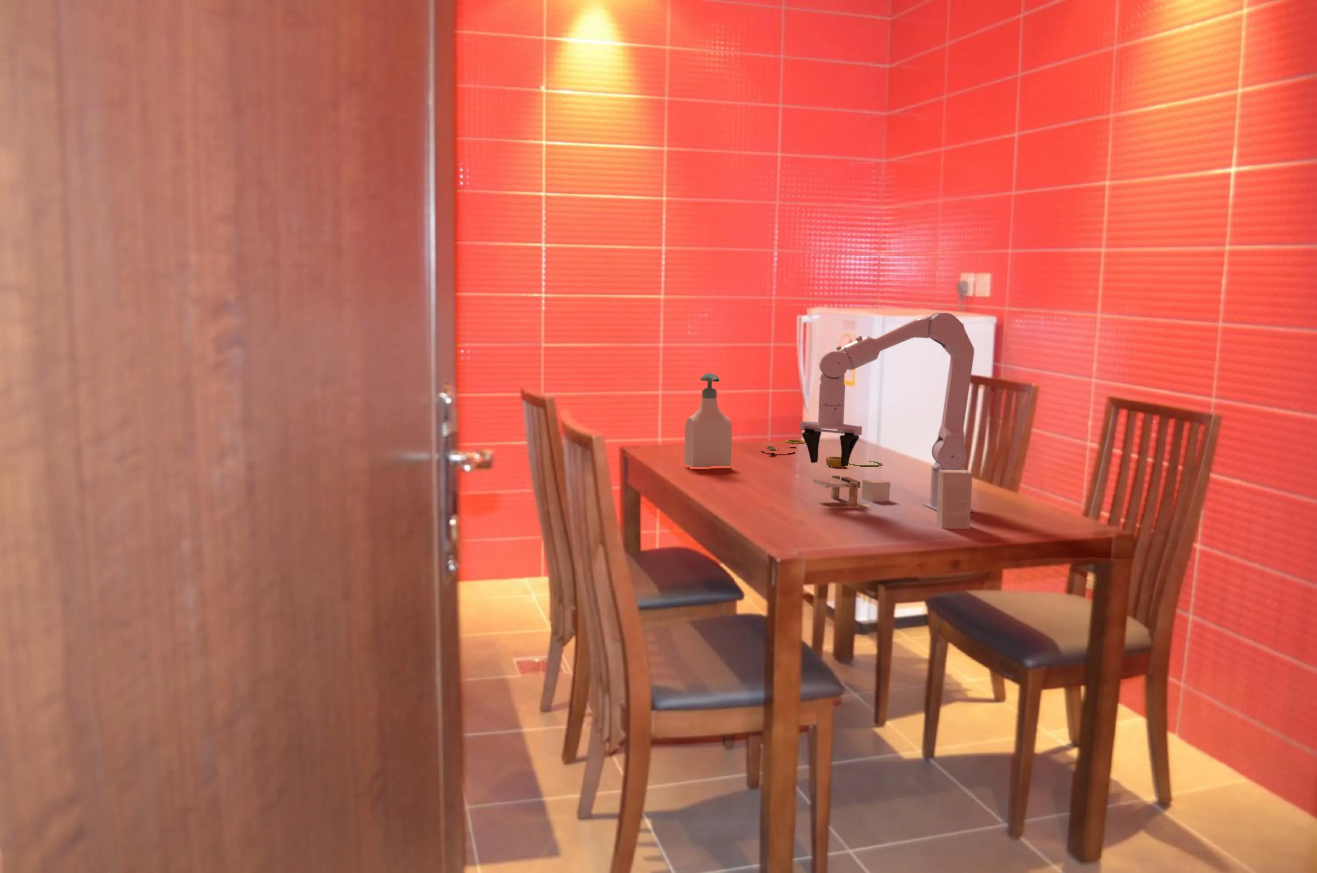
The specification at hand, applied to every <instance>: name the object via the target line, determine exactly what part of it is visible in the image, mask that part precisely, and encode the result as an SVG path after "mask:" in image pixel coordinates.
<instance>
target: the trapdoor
mask: <svg viewBox="0 0 1317 873" xmlns="http://www.w3.org/2000/svg"><path fill="white" fill-rule="evenodd" d="M841 480H842V481H841ZM844 481H845V482H844ZM846 482H847V483H846ZM850 482H857V483H858V489H860V488H861V481H860V480H857V479H854V478H852V477H849V476H840V480H839V479H836V478H832V477H830V478H829V477H827V478H826V477H825V478H824V477H823V478H812V483H813V484H816V485H820V486H822V487H824V488H827V489H828V488H830V489H832V488H836V487H840V488H849V483H850Z"/></svg>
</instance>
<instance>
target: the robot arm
mask: <svg viewBox="0 0 1317 873" xmlns="http://www.w3.org/2000/svg"><path fill="white" fill-rule="evenodd" d="M914 338H915V339H916V338H921V339H922V338H923V339H931V340H932V341H934V342H936V344H937V343H938V344H939V345H940V346H941V347H942V348H943V350H945V352H947V354H948V355H949V356H950V361H949V366H948V368H949V369H948V374H947V375H948V376H947V382H946V389H945V396H944V404H943V411H942V417H941V418H942V420H941V424H940V427H939V430H938V434H937V438H936V441H935V442H934V443H933V445H932V447H931V456H932V458H933V460H934V461H935V462H934V464H932V466H931V472H930V473H931V476H930V495H929V496H930V497H929V502H923V503H922V504H921V505H922V506H923V507H926V508H929V509H932V510H934V511H937V496H938V471H939V470H966V468H965V466H964V465H965V464H966V462H967V459H968V458H967V457H968V456H967V455H968V454H967V450H966V449H965V448H966V447H965V438H966V437H965V430H964V429H965V422H966V421H965V420H966V414H967V406H968V401H969V400H968V399H969V392H970V386H971V377H972V371H973V366H974V364H973V362H974V357H975V348H974V346H973V344H972V342H971V339H970V337H969V335H968V333H967V331H966V329H965V326H964V323H963V322H962V321H960V319H959V318H957V317H956V316H955V315H954V314H952V313H950V312H935V313H932V314H931V315H930V316H928V315H926V316H923V317H919V318H916V319H913V320H911V321H908V322H906V323H904V324H902V325H901V326H898V327H895V328H894V329H891V330H889V331H888V332H885V333H884V334H882V335H880V336H877V337H875V338H874V337H870V336H868V335H866V336H862V335H859V336H857V337H855V340H854V341H851V342H850V343H847V344H845V345H843V346H841V345H837V346H836V347H835V349H836V351H829V352H826V353H824V355H822V357H821V358H820V361H819V363H818V365H819V370H820V371H821V375H820V377H819V380H820V384H819V392H818V418H817V421H805V420H804V421H800V423H799V424H800V426H799V430H800V431H803V432H802V433H801V437H802V438H803V441H805V445H806V448H807V450H808V453H809V460H810V463H811V464H815V463H818V461H819V444H820V439H821V435H822V432H823V433H832V434H842V435H839V440H840V451H841V453H840V454H841V455H840V457H841V466H848V462H849V461H850V457H851V456H852V455H851V454H852V453H853V450H854V448H855V445H856V444H857V442H858V440H859V439H860V436H861V435H862V434H863V426H861V425H855V424H854V425H852V424H847V423H844V422H845V400H846V398H845V396H846V395H845V394H846V385H845V377H846V376H845V374H846V372H847V371H848V370H850V371H853V370H855V369H858V368H860V367H862V366H864V365H867V364H869V363H872V362H874V361H876V360H877V359H878V357H879V354H880V352H881V351H884V350H887V349H889V348H891V347H893V346H896V345H898V344H901V343H903V342H906V341H908V340H911V339H914ZM973 512H975V510H974V509H973V508H971V511H970V513H973Z"/></svg>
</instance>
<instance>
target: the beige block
mask: <svg viewBox="0 0 1317 873" xmlns="http://www.w3.org/2000/svg"><path fill="white" fill-rule="evenodd" d="M861 482H862V483H861V499H862V500H866V501H868V502H871V503H877V502H889V501H890V497H891V496H890V492H891V491H890V490H891V481H888V480H884V479H880V478H871V479H869V478H868V479H866V478H865V479H862V481H861Z"/></svg>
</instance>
